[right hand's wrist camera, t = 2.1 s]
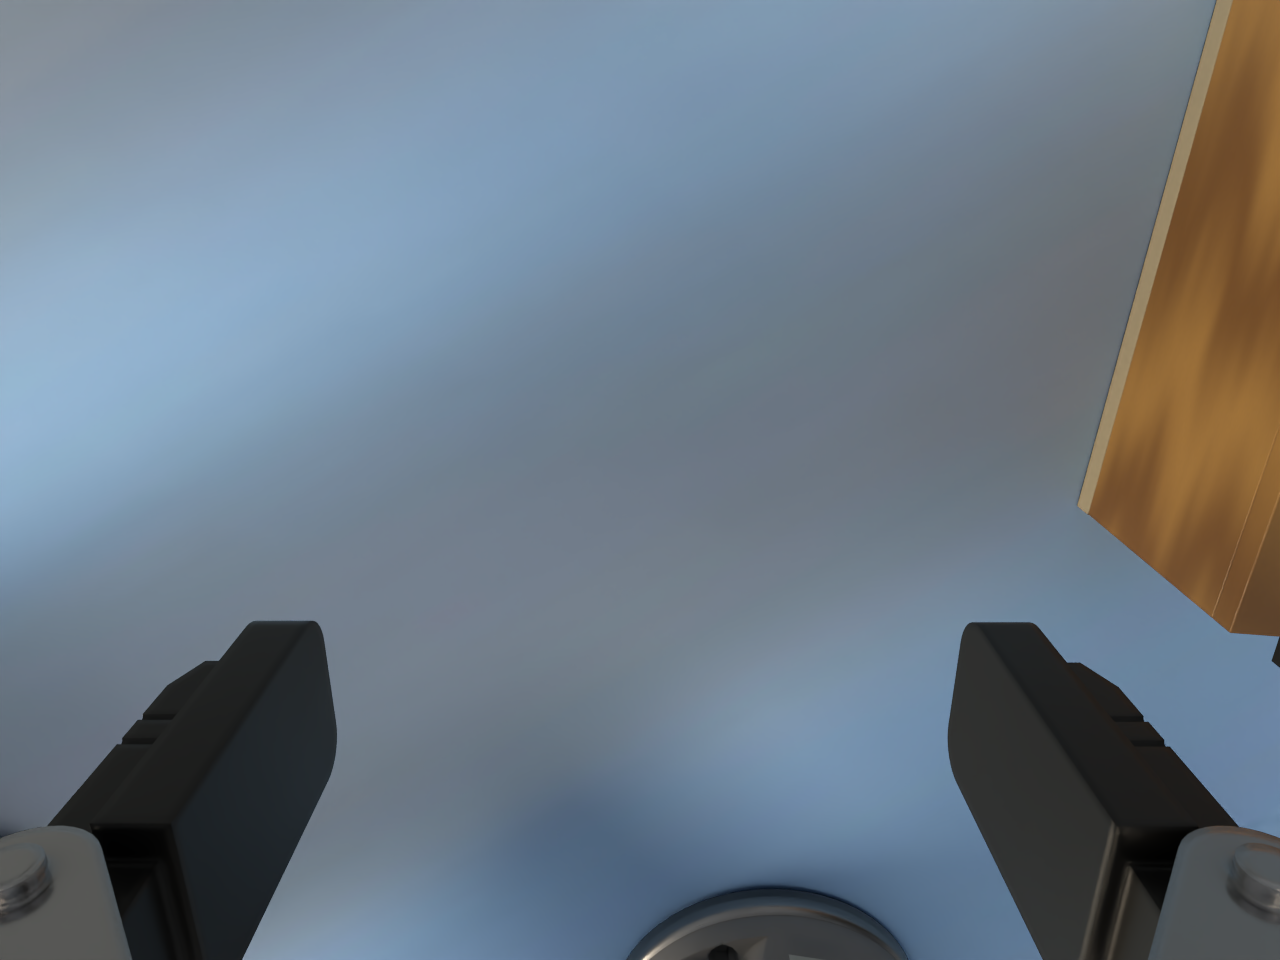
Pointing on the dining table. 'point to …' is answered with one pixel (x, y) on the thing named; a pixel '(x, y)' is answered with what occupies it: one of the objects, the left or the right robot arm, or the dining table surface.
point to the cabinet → (1207, 347)
